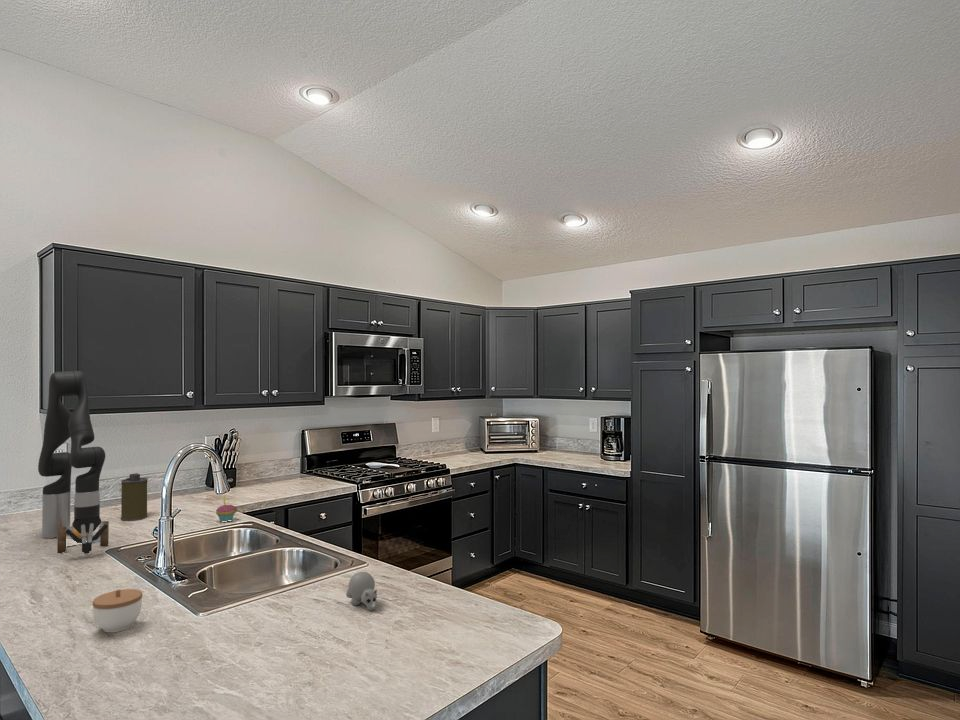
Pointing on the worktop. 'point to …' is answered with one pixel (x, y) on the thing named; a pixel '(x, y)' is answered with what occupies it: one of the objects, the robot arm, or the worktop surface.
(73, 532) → the ball
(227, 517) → the cupcake
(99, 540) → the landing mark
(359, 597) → the chubby cartoon animal
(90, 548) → the robot arm
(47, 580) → the worktop surface
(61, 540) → the post
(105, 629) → the lidded jar
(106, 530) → the post
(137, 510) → the canister
